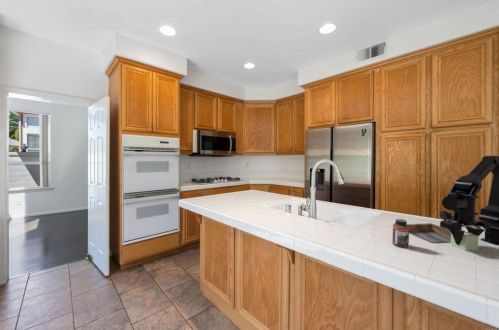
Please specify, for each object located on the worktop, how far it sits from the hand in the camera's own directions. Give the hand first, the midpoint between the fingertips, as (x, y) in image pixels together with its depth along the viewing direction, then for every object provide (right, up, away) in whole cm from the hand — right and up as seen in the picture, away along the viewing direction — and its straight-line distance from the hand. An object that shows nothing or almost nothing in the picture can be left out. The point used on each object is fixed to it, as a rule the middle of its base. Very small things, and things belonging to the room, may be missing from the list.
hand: (463, 244), depth 95 cm
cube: (0, -1, 0) cm, 1 cm away
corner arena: (-4, -1, +12) cm, 13 cm away
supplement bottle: (-26, -1, +2) cm, 27 cm away
